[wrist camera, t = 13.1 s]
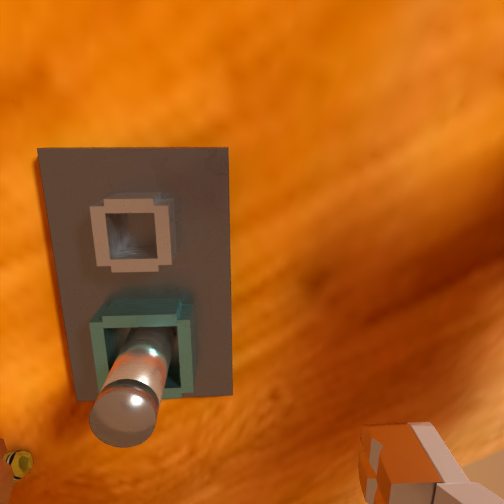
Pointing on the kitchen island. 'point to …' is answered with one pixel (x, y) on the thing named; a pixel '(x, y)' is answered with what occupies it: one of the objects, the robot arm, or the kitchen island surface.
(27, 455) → the sprinkler
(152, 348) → the fitting
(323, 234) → the kitchen island surface
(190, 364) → the manifold plate
